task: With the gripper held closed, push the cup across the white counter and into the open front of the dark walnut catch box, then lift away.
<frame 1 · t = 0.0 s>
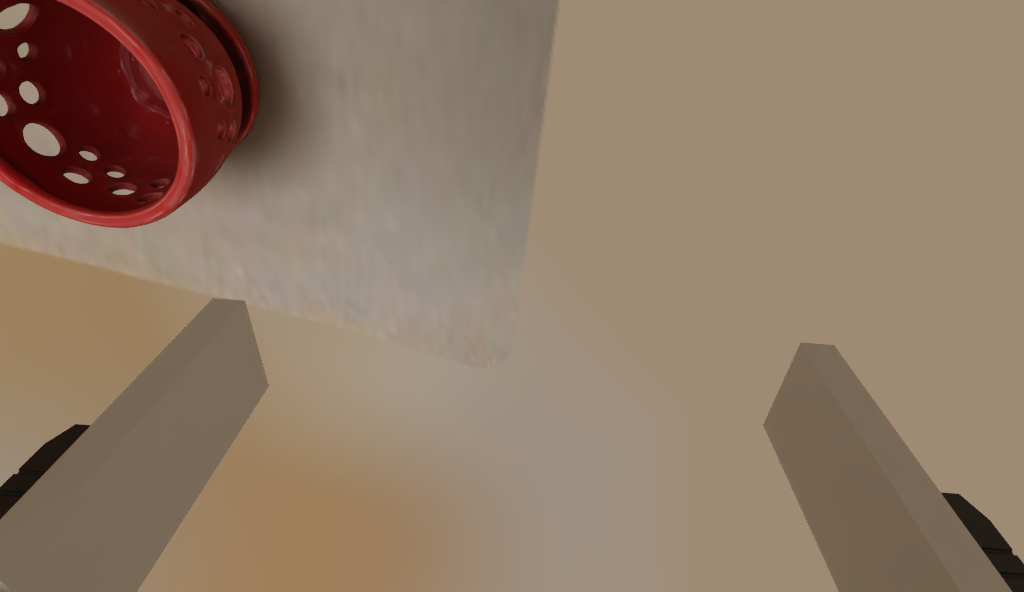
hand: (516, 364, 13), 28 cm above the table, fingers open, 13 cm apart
plant pot: (191, 70, 37), on the table
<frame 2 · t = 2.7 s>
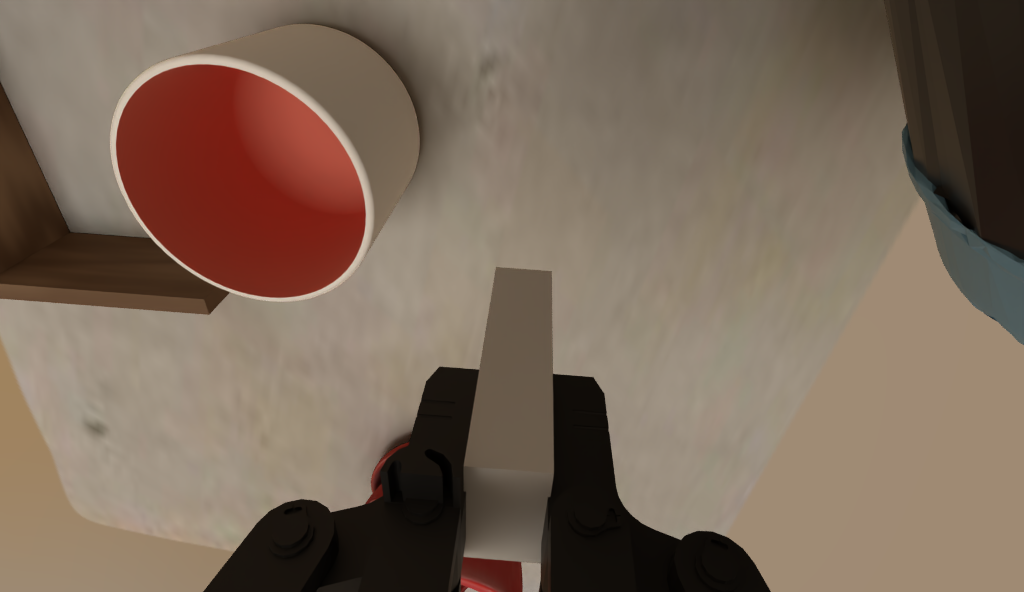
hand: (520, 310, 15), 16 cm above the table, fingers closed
plant pot: (451, 472, 45), on the table
catch box: (98, 107, 29), on the table
cup: (334, 122, 29), on the table
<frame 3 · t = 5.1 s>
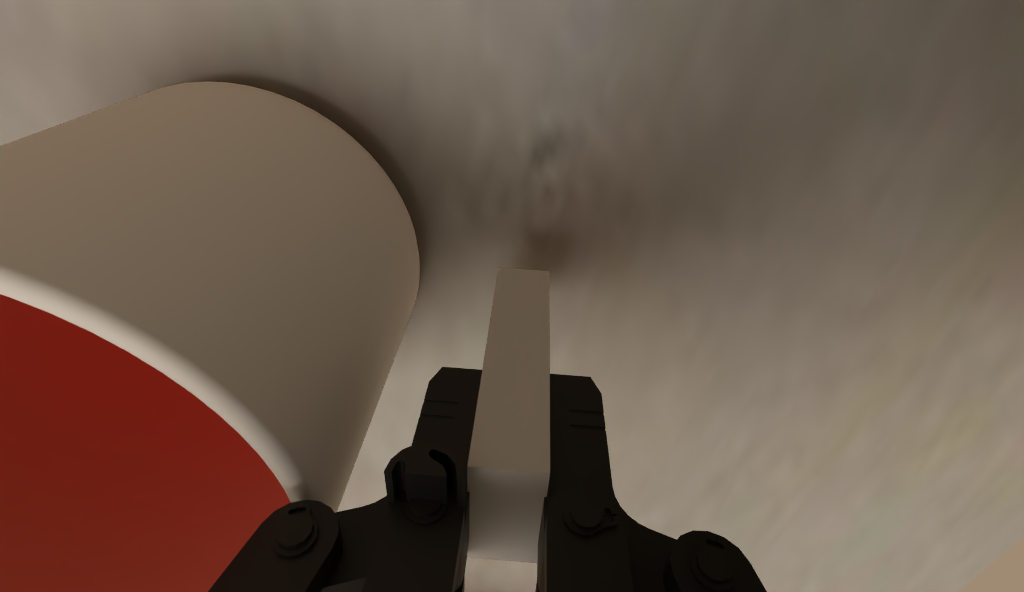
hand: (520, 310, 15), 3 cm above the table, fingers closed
cup: (280, 229, 17), on the table, touching gripper
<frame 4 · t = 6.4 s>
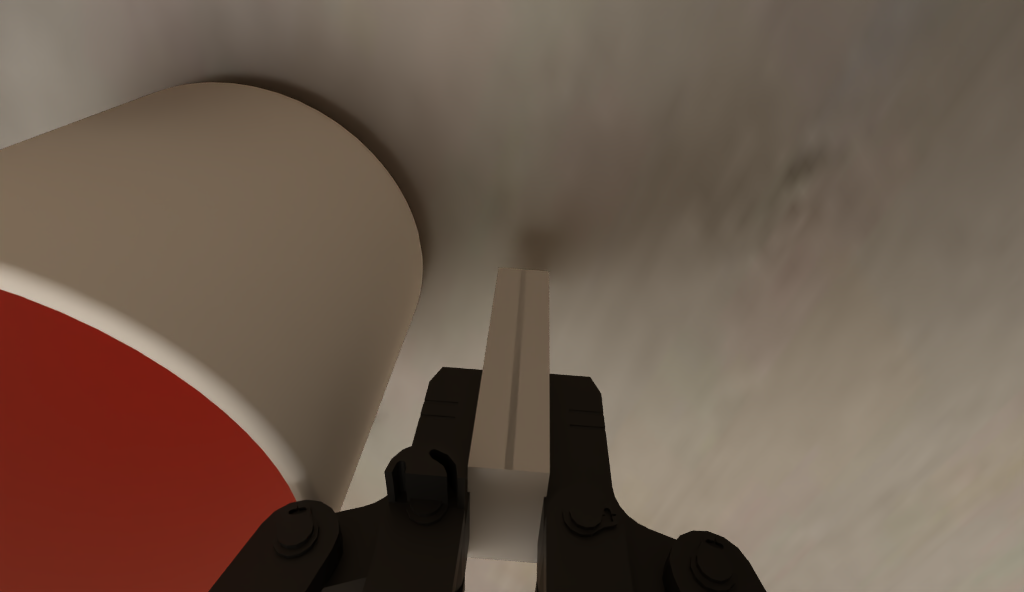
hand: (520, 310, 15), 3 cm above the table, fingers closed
cup: (284, 229, 18), on the table, touching gripper
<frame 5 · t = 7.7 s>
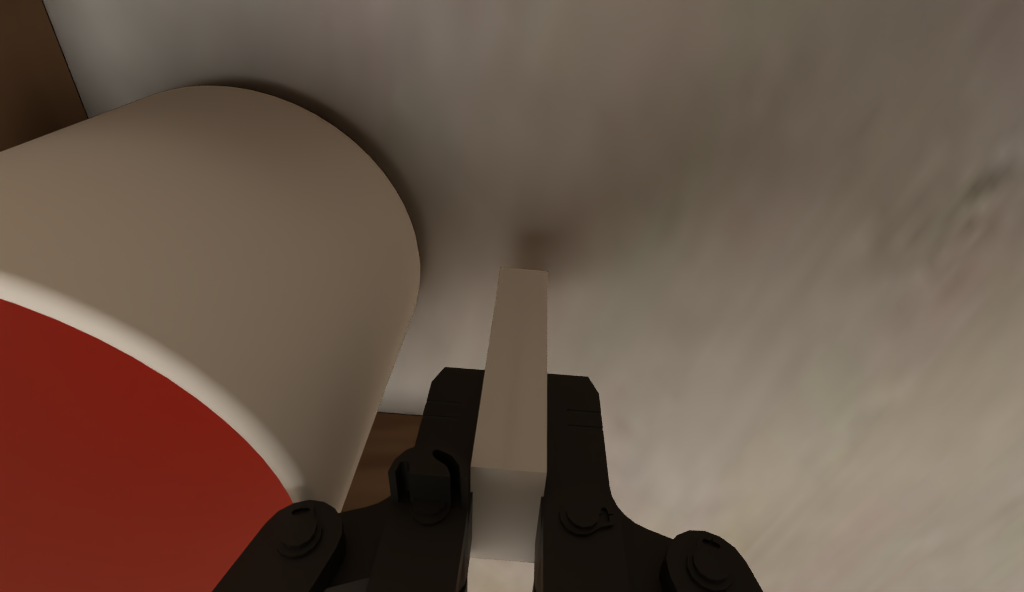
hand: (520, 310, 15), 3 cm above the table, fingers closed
catch box: (278, 235, 17), on the table
cup: (280, 233, 17), on the table, touching catch box, gripper
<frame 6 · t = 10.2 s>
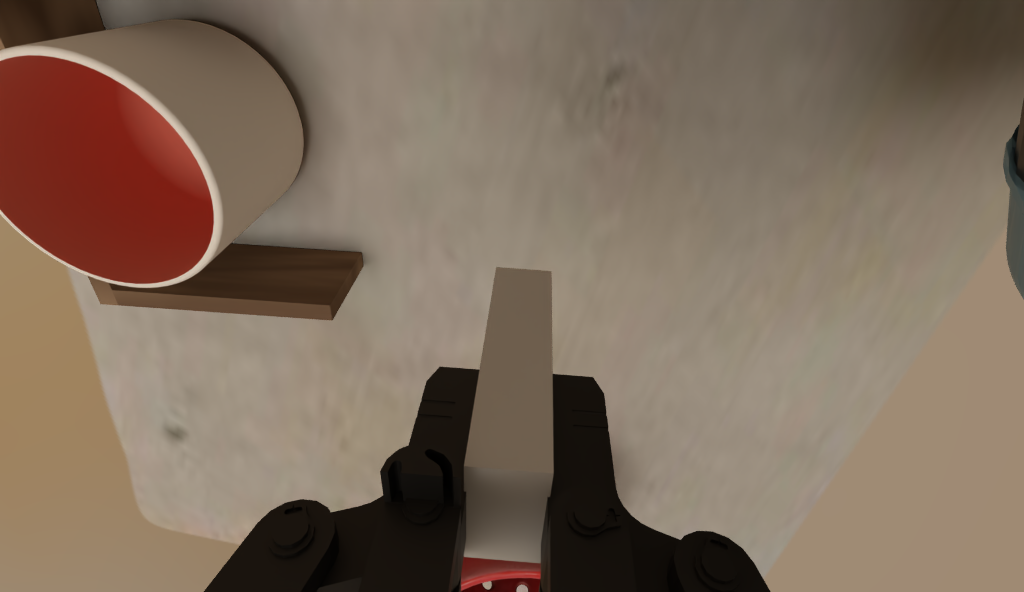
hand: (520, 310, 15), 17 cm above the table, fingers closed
plant pot: (527, 474, 45), on the table
catch box: (221, 117, 29), on the table
cup: (223, 116, 29), on the table
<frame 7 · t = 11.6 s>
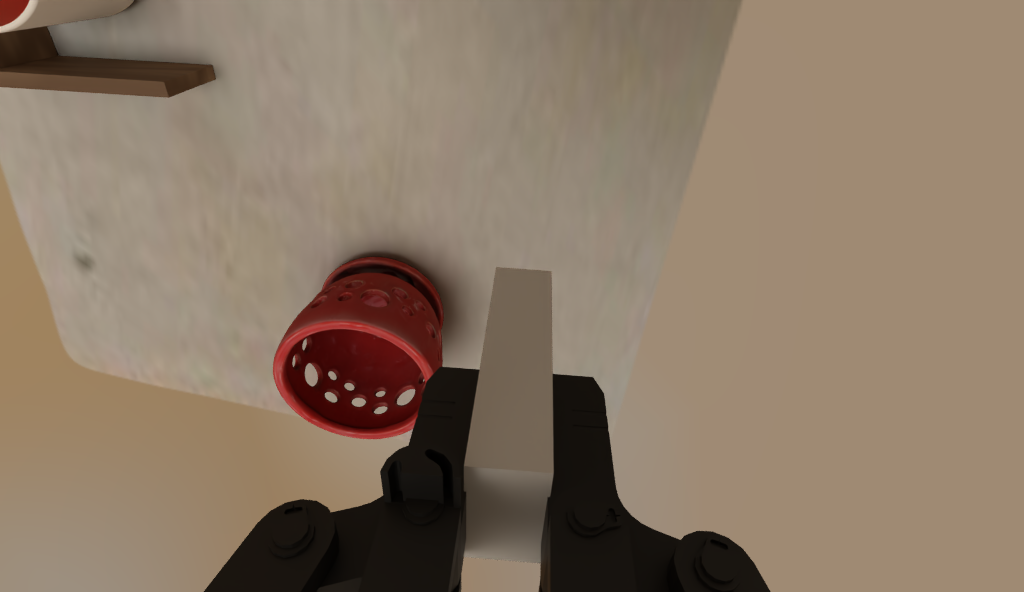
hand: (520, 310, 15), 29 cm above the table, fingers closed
plant pot: (391, 301, 51), on the table
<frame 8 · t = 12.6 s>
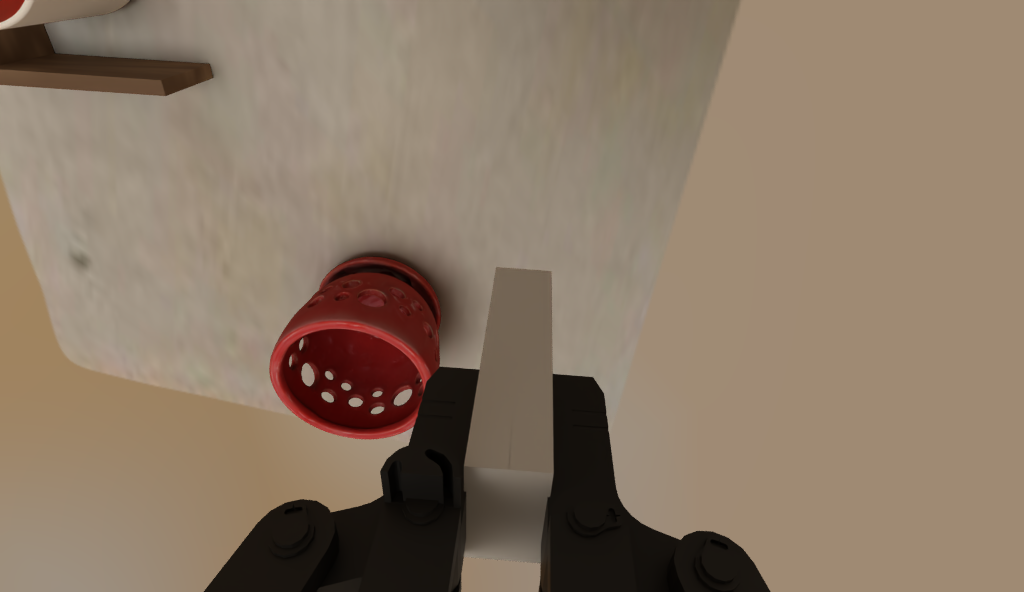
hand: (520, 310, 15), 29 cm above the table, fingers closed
plant pot: (388, 301, 51), on the table
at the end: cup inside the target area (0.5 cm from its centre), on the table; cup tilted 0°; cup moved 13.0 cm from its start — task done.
